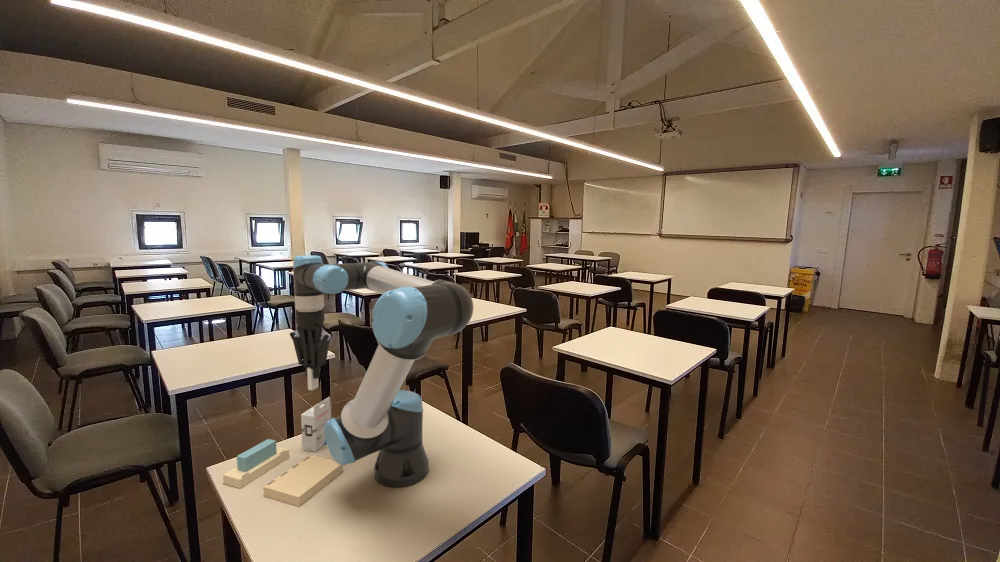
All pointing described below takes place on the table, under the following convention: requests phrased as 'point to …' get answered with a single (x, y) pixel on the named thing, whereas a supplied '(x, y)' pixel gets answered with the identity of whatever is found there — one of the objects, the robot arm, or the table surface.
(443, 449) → the table surface
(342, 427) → the robot arm
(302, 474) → the beige flat slab
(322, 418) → the ink box
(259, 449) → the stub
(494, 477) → the table surface
